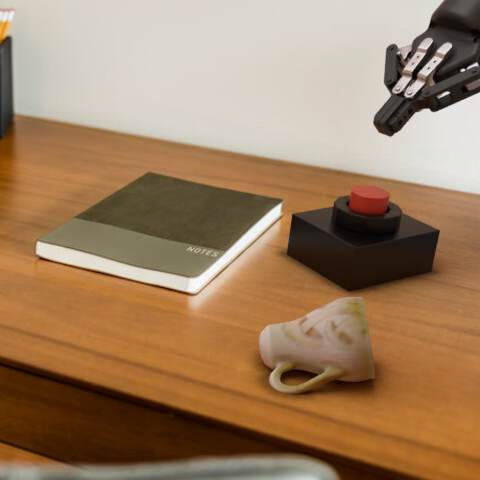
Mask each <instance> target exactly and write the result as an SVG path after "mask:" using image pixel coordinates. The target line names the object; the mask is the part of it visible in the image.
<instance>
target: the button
mask: <svg viewBox="0 0 480 480" xmlns="http://www.w3.org/2000/svg"><path fill="white" fill-rule="evenodd" d="M349 195H350V200H349V208H350V209H352V210H354V211H357V212H362V213H366V214H384V213H387V208H388V203H389V201H390V196H391V193H390V192H389V191H388V190H386V189H384V188H383V187H379V186H375V185H374V186H373V185H365V184H361V185H355V186H353V187H351V189H350V194H349Z"/></svg>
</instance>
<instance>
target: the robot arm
mask: <svg viewBox="0 0 480 480" xmlns="http://www.w3.org/2000/svg"><path fill="white" fill-rule="evenodd" d="M384 62H385V63H384V74H383V84H384V86H385V87H386V90H387V91H388V92H389V94H390V96H389V97H388V98H387V100H386V101H385V103H383V105H382V106H381V107H380V108H379V109H378V111H377V112H376V113H374V116H373V121H372V124H373V126H374V128H375V129H376V130H377V133H379V134H381V135H385V136H387V137H389V138H392V137H393V136H394V135H395V134H397V133H399V132H400V131H402V129H403V128H404V127H405V126H406V124H407V123H408V122H409V121H410V120H411V118H412V117H413V116H414V115H415V114H416V113H420V112H422V111H423V110H426V109H427V110H429V111H430V112H432V113H437V112H439V111H441V110H443V109H446V108H448V107H450V106H453V105H455V104H457V103H459V102H461V101H464V100H466V99H468V98H471V97H473V96H475V95H477V94H479V93H480V0H443V1H442V2H441V3H440V4H439V6H438V7H436V9H435V10H434V11H433V13H432V14H431V16H430V20H429V24H428V27H427V28H426V30H425V31H424V32H422V33H421V34H419V35H418V36H416V37H415V38H414V39H413V41H412V43H411V44H409V45H405V46H403V47H398V45H397V44H396V43H391V44H389V45H388V46H387V47H386V49H385V59H384ZM445 93H447V94H445ZM443 94H445V95H443Z"/></svg>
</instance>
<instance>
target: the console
mask: <svg viewBox="0 0 480 480" xmlns="http://www.w3.org/2000/svg"><path fill="white" fill-rule="evenodd" d="M349 200H350V194H347V195H341V196H339V197H337V198H336V199H335V200H334V201H333V206H328V207H323V208H316V209H311V210H306V211H300V212H296V213H295V212H294V213H292V214H291V220H290V227H289V233H288V234H289V235H288V243H287V248H286V249H287V250H286V256H288V257H290V258H291V259H293V260H294V261H296V262H298V263H299V264H301V265H303V266H304V267H306V268H308V269H310V270H312V271H313V272H315V273H317V274H318V275H320V276H322V277H323V278H325V279H327V280H328V281H330V282H331V283H334V284H335V285H337V286H338V287H340V288H342V289H343V290H344V291H346V292H348V293H349V292H355V291H358V290H361V289H366V288H370V287H374V286H379V285H382V284H386V283H391V282H395V281H400V280H404V279H409V278H412V277H416V276H420V275H424V274H429V273H432V271H433V267H434V262H435V257H436V252H437V248H438V243H439V238H440V234H441V230H440V229H438V228H436V227H434V226H432V225H430V224H427V223H425V222H423V221H421V220H419V219H417V218H415V217H413V216H410V215H408V214H406V213H405V212H403V210H402V208H401V207H400V205H398V204H396V203H394V202H392V201H390V200H389V203H388V208H387V213H384V214H366V213H362V212H357V211H354V210H352V209H350V208H349Z"/></svg>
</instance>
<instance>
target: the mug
mask: <svg viewBox="0 0 480 480" xmlns="http://www.w3.org/2000/svg"><path fill="white" fill-rule="evenodd" d="M258 337H259V338H258V348H259V353H260V358H261V360H262V362H263V363H264V365H265V366H267V368H269V369H271V370H272V372H270V374H269V378H268V383H269V385H270V386H271V387H272V388H273V389H274V390H276V391H278V392H280V393H284V394H288V395H289V394H290V395H300V394H303V393H306V392H309V391H311V390H313V389H315V388H317V387H319V386H322V385H324V384H327V383H329V382H334V381H341V382H347V383H349V382H350V383H357V382H363V381H368V380H374V379H375V378H376V369H375V362H374V355H373V349H372V348H373V347H372V342H371V335H370V329H369V323H368V317H367V311H366V306H365V302H364V298H363V297H362V296H346V297H340V298H337V299H333V300H332V301H329V302H327V303H325V304H323V305H321V306H319V307H318V308H316V309H313V310H312V311H310V312H308V313H307V314H305V315H303V316H301V317H299V318H296V319H293V320H290V321H285V322H278V323H271V324H268V325H266V326H265V327H264V328H263V330H262V331H261V332H260V334H259V336H258ZM292 370H297V371H304V372H309V373H312V374H316V375H317V376H315V377H313V378H311V379H309V380H307V381H305V382H303V383H300V384H296V385H288V384H284V383H282V381H281V377H282V374H283V373H286V372H289V371H292Z"/></svg>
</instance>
